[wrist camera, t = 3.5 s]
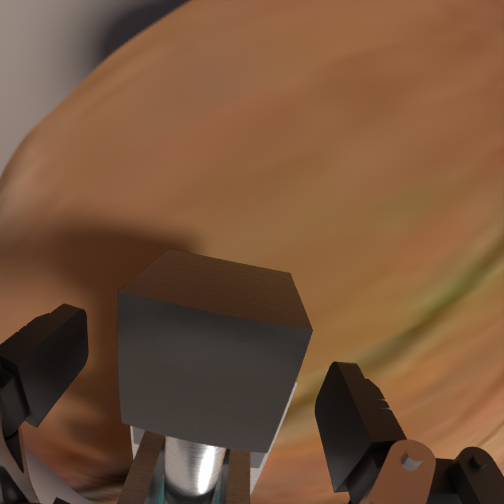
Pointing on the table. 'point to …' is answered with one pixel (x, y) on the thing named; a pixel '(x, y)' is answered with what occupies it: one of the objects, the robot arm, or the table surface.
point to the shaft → (207, 362)
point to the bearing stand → (153, 466)
